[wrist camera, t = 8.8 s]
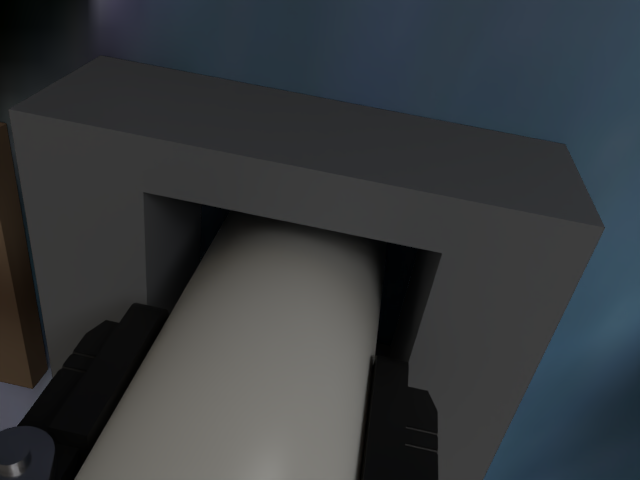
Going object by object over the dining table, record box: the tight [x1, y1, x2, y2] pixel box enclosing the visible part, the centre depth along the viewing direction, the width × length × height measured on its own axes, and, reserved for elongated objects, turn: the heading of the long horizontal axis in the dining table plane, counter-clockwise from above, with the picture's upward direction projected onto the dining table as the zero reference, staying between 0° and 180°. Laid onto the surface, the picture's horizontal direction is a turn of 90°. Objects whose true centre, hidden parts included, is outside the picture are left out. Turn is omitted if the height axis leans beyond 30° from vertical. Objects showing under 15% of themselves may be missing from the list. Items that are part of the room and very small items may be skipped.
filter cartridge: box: [74, 210, 387, 480], centre depth 12 cm, size 5×5×12 cm
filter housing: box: [8, 56, 605, 480], centre depth 18 cm, size 17×12×4 cm
